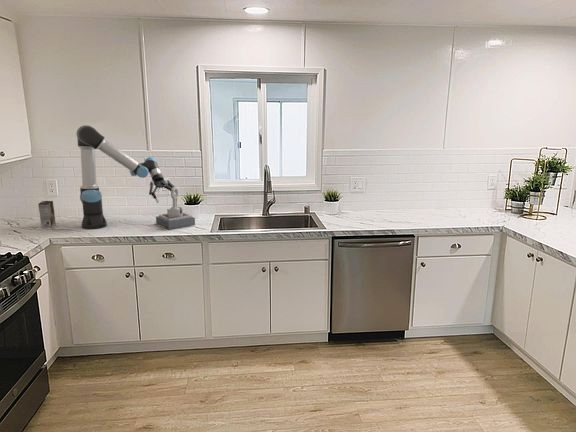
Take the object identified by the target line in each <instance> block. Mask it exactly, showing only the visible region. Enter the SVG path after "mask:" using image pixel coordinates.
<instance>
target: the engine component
mask: <svg viewBox="0 0 576 432" xmlns="http://www.w3.org/2000/svg"><path fill="white" fill-rule="evenodd" d="M174 191H175V196H174ZM179 193H180V192H179V188H178V187H177V186H175V187H173V188H172V190H171V191H170V197H171V199H172V206H171V208H167V210H166V214H167V216H168V218H176V217H182V216H183V210H184V209H183V207H182V206H178V199H179ZM177 198H178V199H177Z"/></svg>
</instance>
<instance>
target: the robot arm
mask: <svg viewBox="0 0 576 432" xmlns="http://www.w3.org/2000/svg"><path fill="white" fill-rule="evenodd" d="M75 134H76V139H77V147H78V148H79V149H80V164H81V181H82V184H81V186H80V187H79V192H80V194H79V200H80V202H81V204H82V211H83V218H82V220H81V228H82V229H84V230H97V229H102V228H105V227H107V226H108V223H107V220H106V218H105V215H104V210H103V198H102V192H101V191H100V186H98V184H97V172H96V168H97V166H96V150H98V151H100V152H102V153H103V154H104V155H106V156H108V157H110V158H111V159H113V161H116V162H117V163H118V164H120V165H122V166H123V167H125V168H126V170H127V169H128V170H129V173H130V176H132V177H136V176H137V177H139V178H142V179H144V178H147V177H148V176H149V175H150V177H151V180H152V181H150V183H149V192H148V194H149V195H150V196H151V197H153V199H155V201H156V203H157V204H159V202H160V199H159V197H158V195H157V192H156V191H157V189H163V188H164V189H167V190H168V191H170V192H171V190H172V188H173V187H176V186H175V185H174V184H173V183H171V182H170V180H169V179H168V180H166V181H165V179H164V176H163V174H162V171H161V169H160V167H159V165H158V162H157V159H155V157H150V156H149V157H147V158H145V160H144V162H138V161H137V160H135V159H134V158H132V157H131V156H130V155H128V154H127V153H125V152H124V151H123V150H121V149H119V148H118V147H117V146H115V145H114V144H112V142H109V141H108V140H107V139H106V138H105V136H103V135H102V134H101V133H100V132H98V131H97V129H95V128H94V127H92V126H91V125H87V124H86V125H81V126H80V127H78V128H77V130H76V133H75ZM154 186H155V187H154ZM153 187H154V189H153ZM174 196H175V191H174ZM178 199H179V197H178V198H177V200H178Z"/></svg>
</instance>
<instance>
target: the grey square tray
mask: <svg viewBox="0 0 576 432" xmlns="http://www.w3.org/2000/svg"><path fill="white" fill-rule="evenodd" d="M155 222H156V223H155V224H156V225H158V226H160V227H163V228H165V229H167V230H174V229H181V228H187V227H192V226H195V225H196V218H195V217H193V216H192V215H191V214H188V213H186V212H183V216H182V217H176V218H168V216H167V213H162V214H158V216H155Z"/></svg>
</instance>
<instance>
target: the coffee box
mask: <svg viewBox="0 0 576 432" xmlns="http://www.w3.org/2000/svg"><path fill="white" fill-rule="evenodd" d="M37 205H38V212H39V219H40V221H39V222H40V228H42V229H45V228H47V229H48V228H49V229H50V228H53V227H54V226H55V225H56V216H55V209H54V201H53V200H42V201H40V202H39V203H38V204H37Z"/></svg>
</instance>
